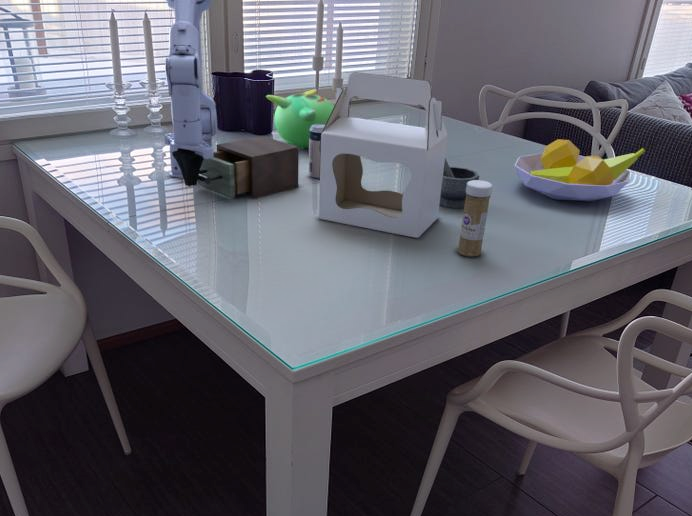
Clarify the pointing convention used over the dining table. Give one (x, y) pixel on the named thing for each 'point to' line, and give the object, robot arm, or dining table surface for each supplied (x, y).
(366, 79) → the gable box
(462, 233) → the sprinkles bottle
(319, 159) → the spice jar
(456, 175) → the mortar and pestle
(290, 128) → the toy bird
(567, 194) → the fruit bowl
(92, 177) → the dining table surface
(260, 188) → the cabinet
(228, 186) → the green-fronted drawer
